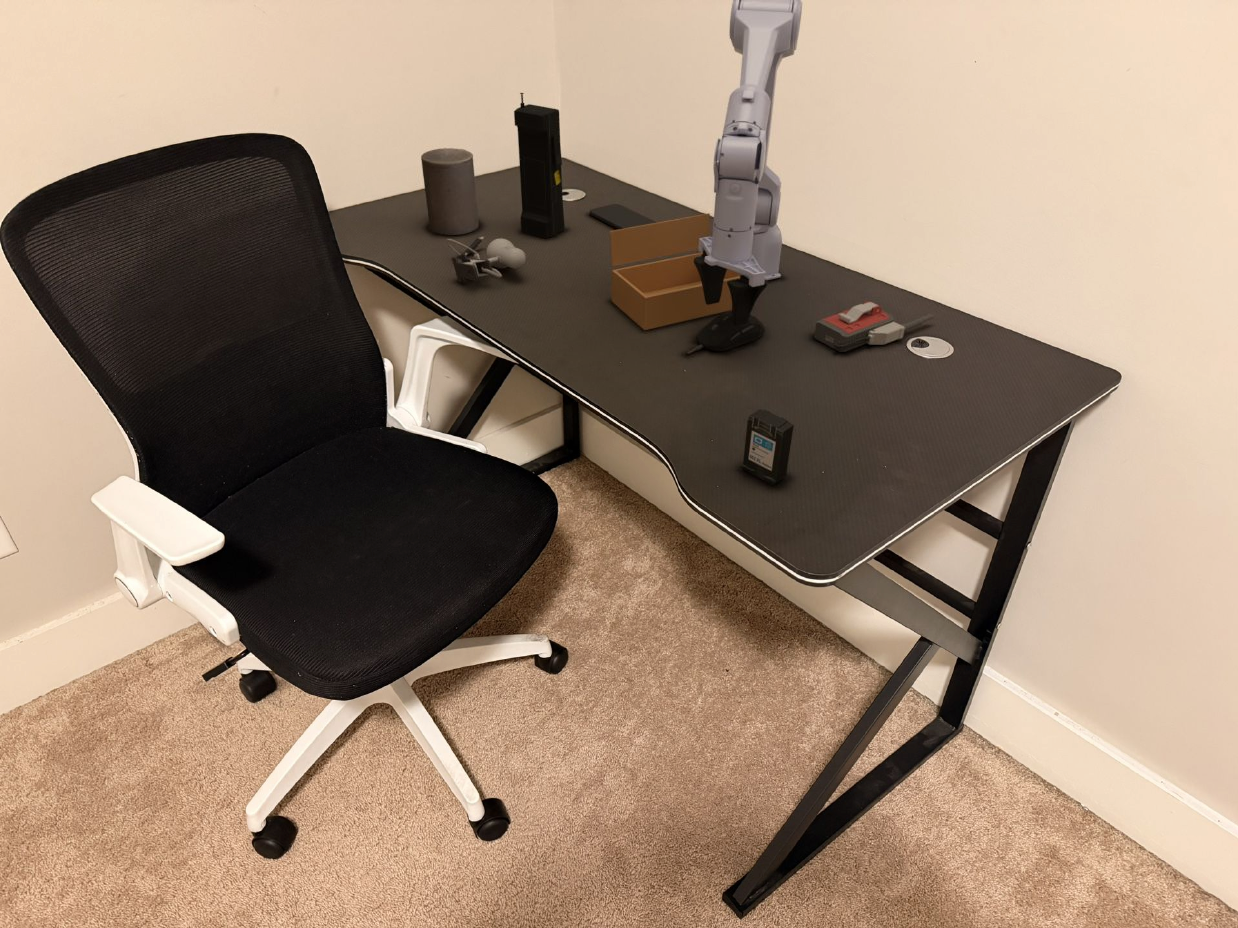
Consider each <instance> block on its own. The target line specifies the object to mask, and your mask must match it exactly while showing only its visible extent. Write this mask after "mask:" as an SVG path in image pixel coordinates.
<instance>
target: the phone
mask: <svg viewBox="0 0 1238 928" xmlns="http://www.w3.org/2000/svg"><path fill="white" fill-rule="evenodd" d="M589 215H591V217H594V218H596V219H598V220H599V221H601V222H604V223H606V224H607V225H610V226H611V227H614V228H615V229H616V230H619V229H625V228H630V227H636V226H642V225H647V224H653V223H658V222H657V221H655V220H653V219H651V218H649V217H648V216H644V215H642V214H641V213H638V212H636V211H634V210H632V209H630V208H628V207H626V206H624V205H622V204H620V203H612V204H607V205H603V206H598V207H595V208H591V209H589Z"/></svg>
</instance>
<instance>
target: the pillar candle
mask: <svg viewBox="0 0 1238 928" xmlns="http://www.w3.org/2000/svg"><path fill="white" fill-rule="evenodd" d="M420 160H421V168H422V176H423V186H424V192H425V199H426V200H425V201H426V209H427V217H428V223H429V226H428V228H429V230H430V231H431V232H433V233H435V234H438V235H442V236H457V235H458V236H460V235H466V234H469V233H472V232H474V231H476V230H478V228H479V210H478V200H477V190H476V189H477V188H476V177H475V167H474V154H473V153H472V152H471V151H469V150H467V149H464V148H454V147H449V148H448V147H443V148H435V149H430V150H428V151H425V152H423V153H422V154H421V157H420Z"/></svg>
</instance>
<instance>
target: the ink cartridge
mask: <svg viewBox="0 0 1238 928" xmlns="http://www.w3.org/2000/svg"><path fill="white" fill-rule="evenodd" d="M794 426H795V424H793V423H791V422H789V420H788V419H786V418H784V417H782V416H781V417H780V416H778V415H776V414H774V413H772V412H771V411H769V410H766V409H761V408H759V409H757V410H756V411H754V412H753V413H751V414H750V415H749V416H748V419H747V421H746V431H745V438H744V439H745V440H744V449H743V457H742V458H743V459H742V463H741V467H742V469H743V470H744V471H746V472H747V473H750V474H751V475H753V476H755V477H757V478H758V479H760V480H762V481H764V482H766V483H768V484H770V485H771V486H772V485H773V486H774V485H776V484H778V483H779V482H780V481H781V480H782V479H784V478H785V477H787V471H788V465H789V458H790V452H791V446H792V439H793V433H794Z"/></svg>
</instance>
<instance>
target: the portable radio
mask: <svg viewBox="0 0 1238 928" xmlns="http://www.w3.org/2000/svg"><path fill="white" fill-rule="evenodd" d="M519 94H520V99H521V102H520V107H517V108H516V109H514V111H513V117H514V126H515V127H516V128H517V144H518V160H519V161H518V162H519V174H520V175H519V178H520V197H521V214H520V229H521V232H522V233H524V234H529V235H531V236H535V237H540V238H543V239H549V238H551V237H554V236H556V235H558V234H560V233H561V232H563V231H565V229H566V228H565V227H566V225H565V214H564V196H563V194H564V193H563V174H562V166H563V160H562V158H563V157H562V147H561V124H560V122H561V121H560V119H561V118H560V110H559V109H558V108H553V107H547V106H542V105H537V104H531V103H529V104H525V102H524V94H525V93H524V92H519Z"/></svg>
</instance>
